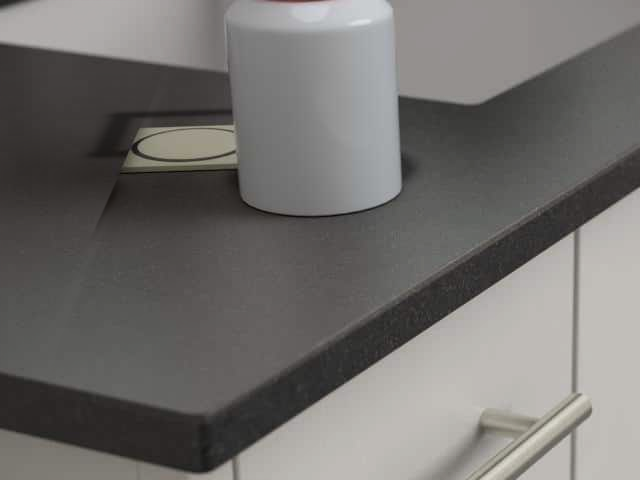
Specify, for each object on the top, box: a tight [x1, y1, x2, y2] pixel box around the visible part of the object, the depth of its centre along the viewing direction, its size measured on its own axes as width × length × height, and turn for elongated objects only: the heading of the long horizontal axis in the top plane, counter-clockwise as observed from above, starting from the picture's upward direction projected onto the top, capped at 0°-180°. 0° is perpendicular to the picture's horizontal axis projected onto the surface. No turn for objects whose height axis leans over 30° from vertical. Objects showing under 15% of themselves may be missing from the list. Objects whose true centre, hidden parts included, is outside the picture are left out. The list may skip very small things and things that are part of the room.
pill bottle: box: [223, 0, 403, 217], centre depth 76 cm, size 8×8×11 cm
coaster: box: [119, 124, 238, 174], centre depth 85 cm, size 8×7×1 cm
